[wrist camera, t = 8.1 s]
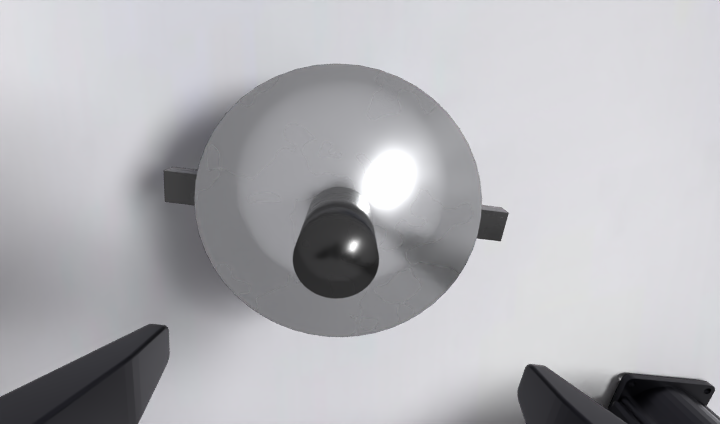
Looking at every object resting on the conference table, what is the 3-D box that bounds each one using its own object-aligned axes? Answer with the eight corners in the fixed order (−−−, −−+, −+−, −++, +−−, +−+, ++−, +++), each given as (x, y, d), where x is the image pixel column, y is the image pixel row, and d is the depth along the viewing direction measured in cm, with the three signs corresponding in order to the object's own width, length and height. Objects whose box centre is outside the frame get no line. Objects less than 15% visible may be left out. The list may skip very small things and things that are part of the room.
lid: (495, 88, 15) (581, 85, 9) (439, 324, 18) (478, 422, 13) (211, 47, 14) (122, 18, 9) (210, 301, 18) (147, 395, 12)
